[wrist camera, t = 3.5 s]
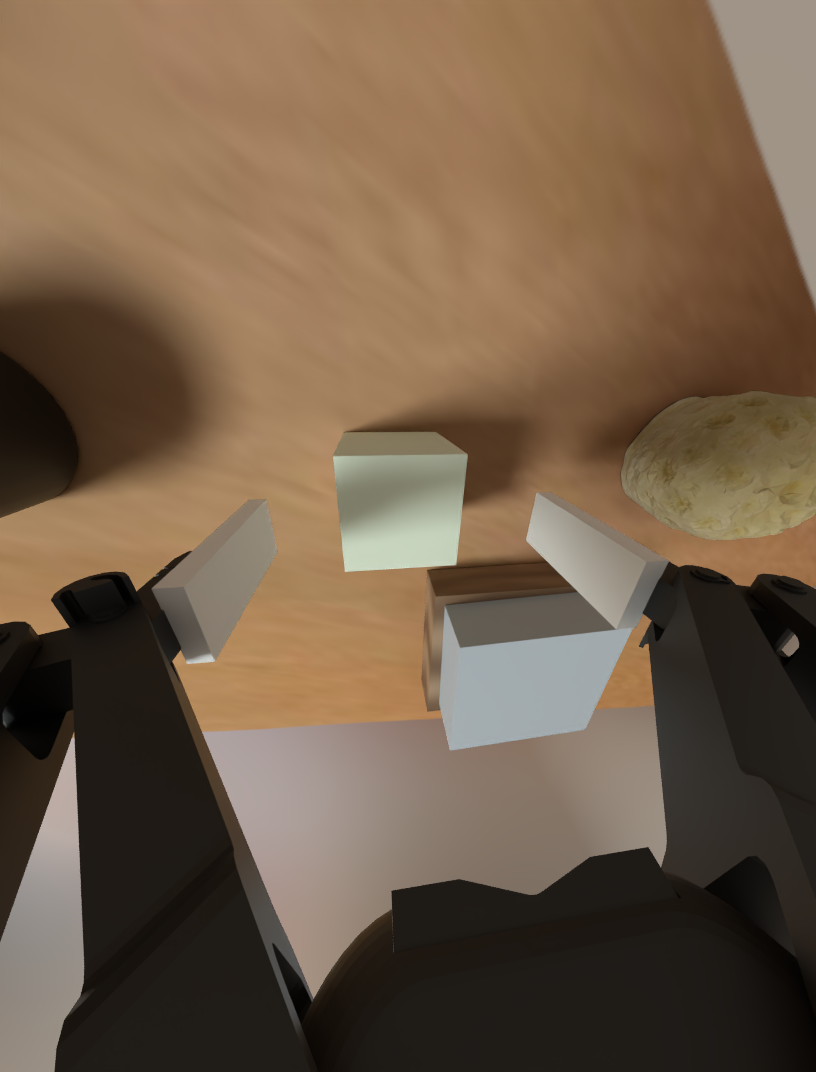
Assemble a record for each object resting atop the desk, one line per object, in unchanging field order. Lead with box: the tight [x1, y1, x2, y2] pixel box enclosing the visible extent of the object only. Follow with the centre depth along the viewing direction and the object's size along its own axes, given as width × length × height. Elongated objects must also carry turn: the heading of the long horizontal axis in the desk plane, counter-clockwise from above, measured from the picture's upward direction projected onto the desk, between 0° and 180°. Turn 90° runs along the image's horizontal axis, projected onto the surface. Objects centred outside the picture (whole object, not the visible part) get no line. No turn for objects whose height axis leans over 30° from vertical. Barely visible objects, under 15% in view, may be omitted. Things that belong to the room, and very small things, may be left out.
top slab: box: [439, 592, 633, 750], centre depth 24 cm, size 12×12×4 cm
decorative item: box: [621, 391, 816, 540], centre depth 20 cm, size 10×10×10 cm
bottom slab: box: [422, 563, 578, 712], centre depth 27 cm, size 14×14×4 cm
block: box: [333, 432, 468, 572], centre depth 17 cm, size 6×6×7 cm
